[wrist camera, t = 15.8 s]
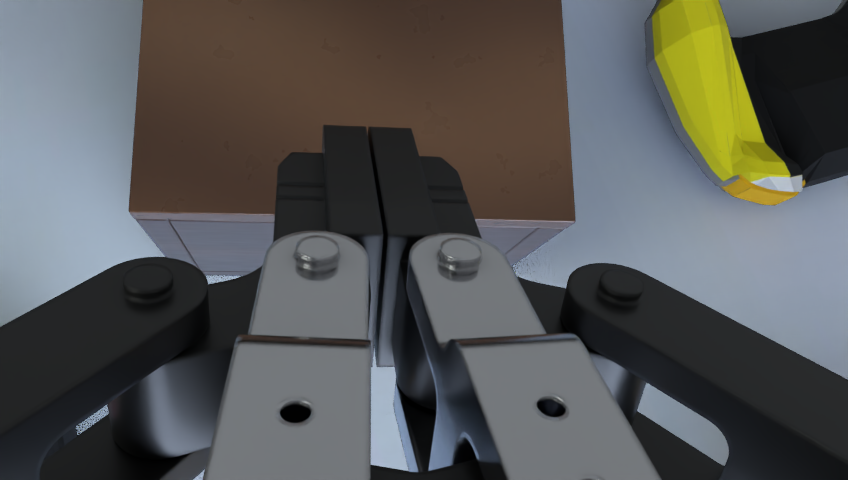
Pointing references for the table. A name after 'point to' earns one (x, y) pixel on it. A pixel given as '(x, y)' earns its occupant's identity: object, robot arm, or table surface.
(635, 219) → the table surface
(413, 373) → the robot arm
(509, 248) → the chest
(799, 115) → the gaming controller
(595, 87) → the table surface
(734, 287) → the table surface
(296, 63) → the lid
